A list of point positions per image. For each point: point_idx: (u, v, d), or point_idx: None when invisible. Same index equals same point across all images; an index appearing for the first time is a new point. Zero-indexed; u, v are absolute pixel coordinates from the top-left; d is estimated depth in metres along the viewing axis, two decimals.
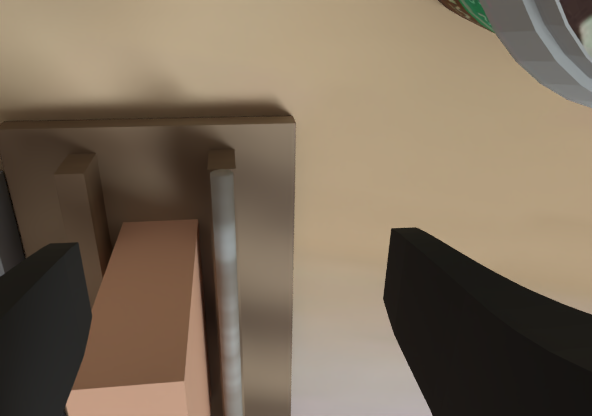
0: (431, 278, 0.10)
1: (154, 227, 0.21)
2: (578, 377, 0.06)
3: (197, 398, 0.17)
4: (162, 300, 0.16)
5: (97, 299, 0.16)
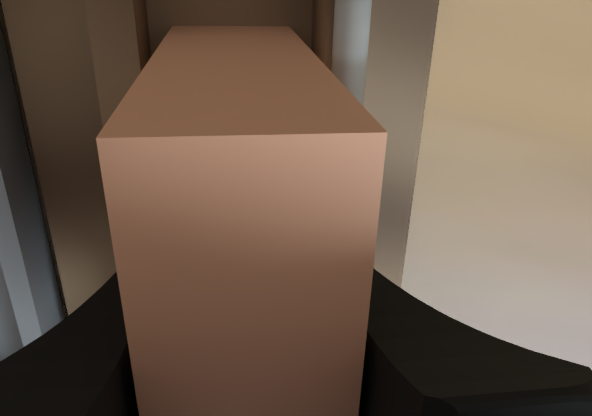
0: None
1: (223, 29, 0.13)
2: (407, 392, 0.06)
3: None
4: (274, 67, 0.09)
5: (149, 65, 0.09)
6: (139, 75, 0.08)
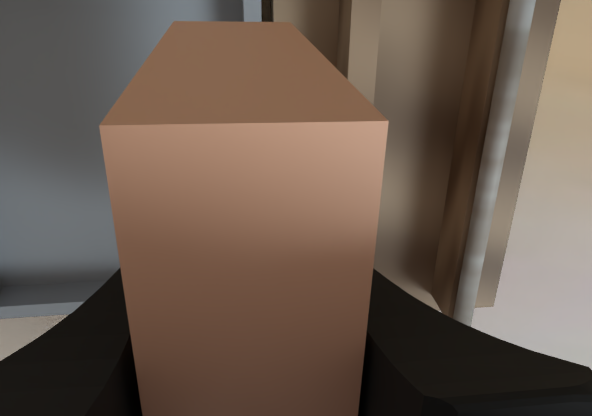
0: None
1: (225, 24, 0.13)
2: (407, 392, 0.06)
3: None
4: (276, 61, 0.09)
5: (151, 57, 0.09)
6: (141, 67, 0.08)
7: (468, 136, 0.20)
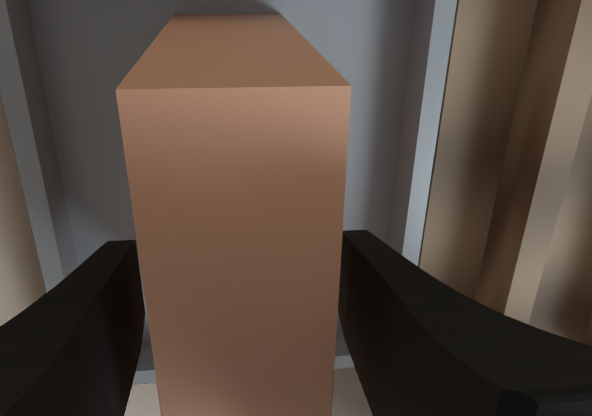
0: (371, 282, 0.10)
1: (221, 15, 0.14)
2: (479, 386, 0.06)
3: None
4: (264, 44, 0.10)
5: (155, 42, 0.10)
6: (147, 49, 0.09)
7: None
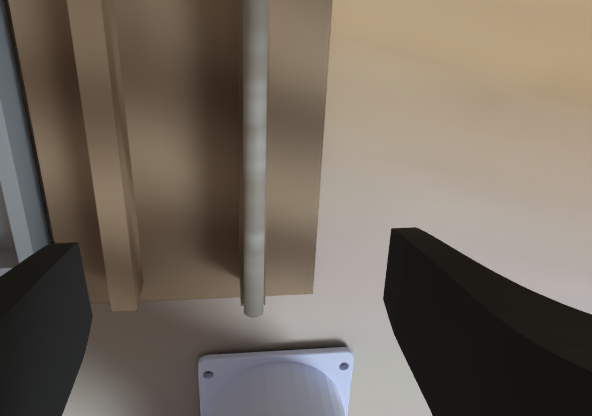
0: (431, 278, 0.10)
1: None
2: (578, 377, 0.06)
3: None
4: None
5: None
6: None
7: None
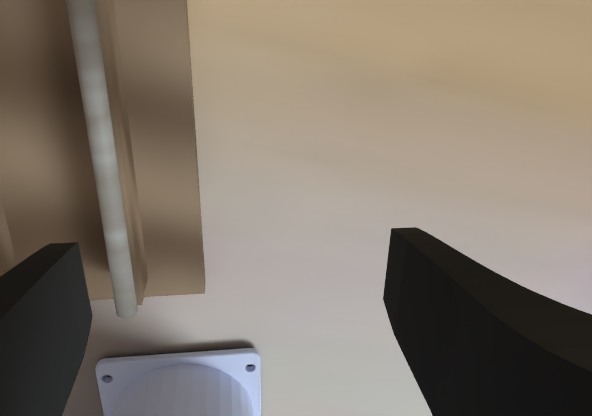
0: (431, 278, 0.10)
1: None
2: (578, 377, 0.06)
3: None
4: None
5: None
6: None
7: None
